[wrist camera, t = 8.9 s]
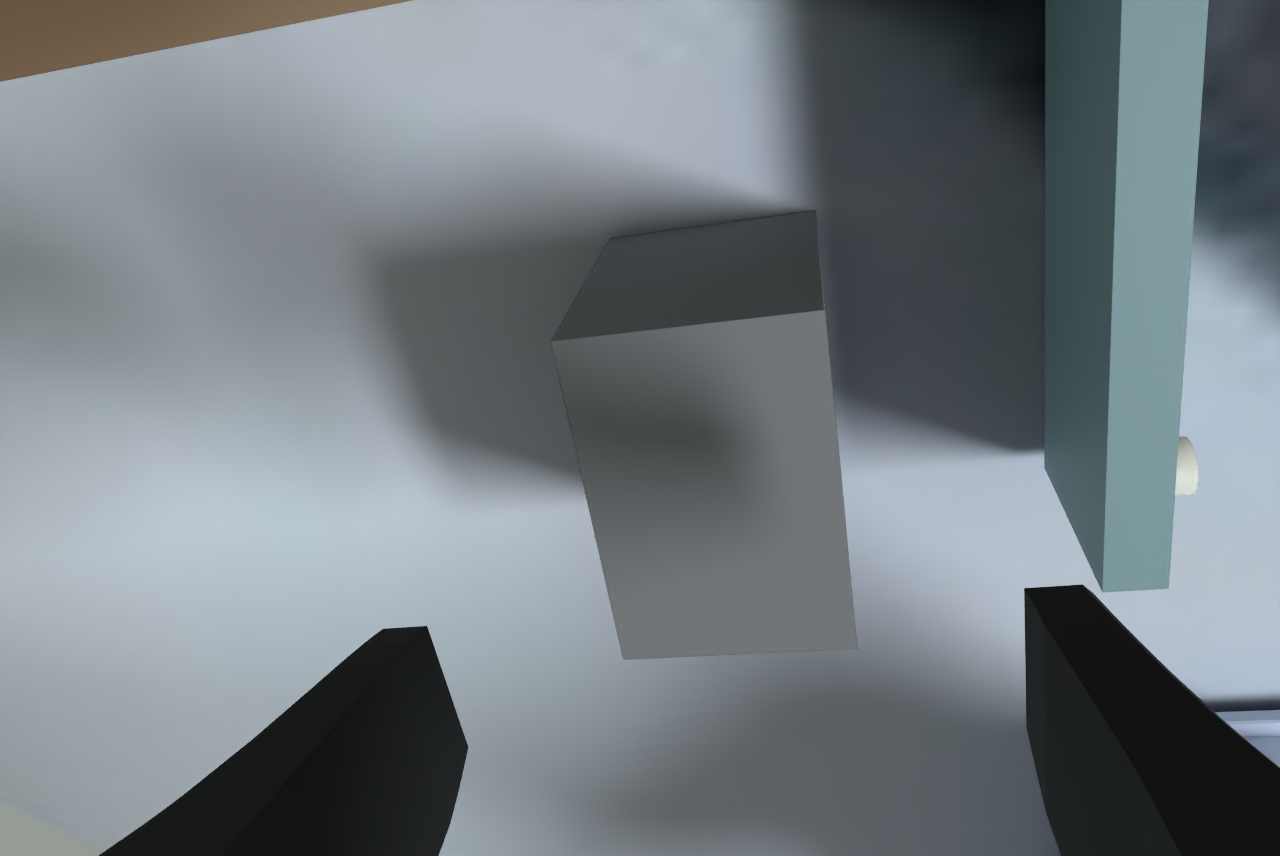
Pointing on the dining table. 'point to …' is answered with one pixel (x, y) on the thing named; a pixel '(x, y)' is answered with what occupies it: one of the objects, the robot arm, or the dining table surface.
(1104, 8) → the door
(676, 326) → the block
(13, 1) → the wooden plank
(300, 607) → the dining table surface
